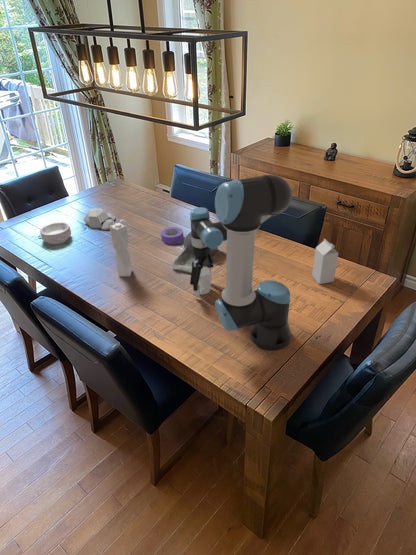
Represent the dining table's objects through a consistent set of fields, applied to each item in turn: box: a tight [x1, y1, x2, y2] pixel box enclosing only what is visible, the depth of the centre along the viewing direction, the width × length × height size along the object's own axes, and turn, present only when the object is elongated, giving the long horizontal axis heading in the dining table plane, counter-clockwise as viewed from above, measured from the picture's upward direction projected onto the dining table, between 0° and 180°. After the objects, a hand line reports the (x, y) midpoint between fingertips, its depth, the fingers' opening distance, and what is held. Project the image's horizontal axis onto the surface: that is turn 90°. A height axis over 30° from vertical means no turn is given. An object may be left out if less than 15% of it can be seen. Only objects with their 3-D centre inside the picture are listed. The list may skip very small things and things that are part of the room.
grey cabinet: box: [171, 231, 219, 275], centre depth 203 cm, size 26×14×11 cm, turn 157°
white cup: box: [198, 266, 212, 295], centre depth 182 cm, size 8×8×10 cm
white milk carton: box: [311, 238, 339, 285], centre depth 184 cm, size 7×7×19 cm
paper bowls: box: [39, 221, 72, 245], centre depth 224 cm, size 15×15×8 cm
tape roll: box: [160, 226, 185, 245], centre depth 223 cm, size 12×12×5 cm
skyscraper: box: [109, 219, 133, 277], centre depth 190 cm, size 8×8×28 cm
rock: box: [83, 208, 117, 231], centre depth 238 cm, size 18×20×10 cm
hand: (202, 287), depth 184 cm, fingers open, 12 cm apart
